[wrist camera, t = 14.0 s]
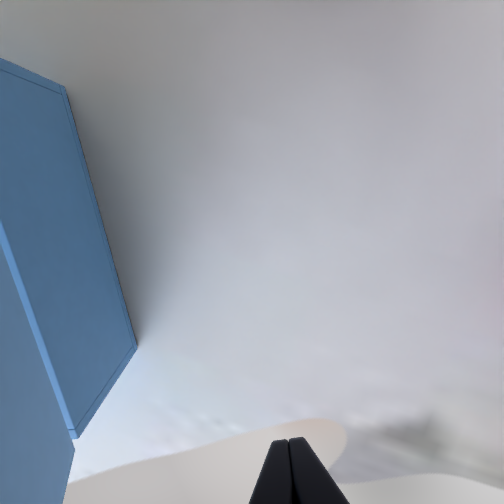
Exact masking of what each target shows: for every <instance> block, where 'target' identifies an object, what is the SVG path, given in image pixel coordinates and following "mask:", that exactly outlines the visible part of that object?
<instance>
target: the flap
mask: <svg viewBox="0 0 504 504" xmlns="http://www.w3.org/2000/svg"><path fill="white" fill-rule="evenodd" d="M74 452H75V448H74V446H73V443H72V440H71V437H70V435H69V432H68V429H67V426H66V423H65V421H64V418H63V415H62V412H61V410H60V407H59V404H58V401H57V398H56V396H55V393H54V390H53V387H52V385H51V382H50V379H49V376H48V373H47V371H46V368H45V365H44V362H43V360H42V357H41V354H40V351H39V348H38V346H37V343H36V340H35V337H34V335H33V332H32V329H31V326H30V324H29V321H28V318H27V315H26V312H25V310H24V307H23V304H22V301H21V299H20V296H19V293H18V290H17V287H16V285H15V282H14V279H13V276H12V274H11V271H10V268H9V265H8V262H7V260H6V257H5V254H4V251H3V249H2V246H1V243H0V504H62V503H63V499H64V495H65V490H66V486H67V482H68V478H69V473H70V469H71V465H72V461H73V456H74Z"/></svg>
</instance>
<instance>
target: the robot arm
mask: <svg viewBox="0 0 504 504" xmlns="http://www.w3.org/2000/svg"><path fill="white" fill-rule="evenodd" d="M249 504H350V503H349V502H348V501H347V499H346V498H345V496H344V495H343V493H342V492H341V490H340V489H339V488H338V486H337V485H336V483H335V482H334V480H333V479H332V477H331V476H330V474H329V473H328V471H327V470H326V469H325V467H324V466H323V464H322V463H321V461H320V460H319V458H318V457H317V456H316V454H315V453H314V451H313V450H312V449H311V447H310V445H309V444H308V442H307V441H306V440H305V438H303V437H298V438H291V439H289V443H288V441H287V440H286V439H284V440H276V441H273V442H272V443H271V446H270V449H269V451H268V454H267V456H266V459H265V462H264V464H263V467H262V470H261V472H260V475H259V478H258V480H257V483H256V486H255V488H254V491H253V494H252V496H251V499H250V502H249Z"/></svg>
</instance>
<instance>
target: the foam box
mask: <svg viewBox="0 0 504 504" xmlns="http://www.w3.org/2000/svg"><path fill="white" fill-rule="evenodd" d="M0 243H1V246H2V249H3V251H4V254H5V257H6V260H7V262H8V265H9V268H10V271H11V274H12V276H13V279H14V282H15V285H16V287H17V290H18V293H19V296H20V299H21V301H22V304H23V307H24V310H25V312H26V315H27V318H28V321H29V324H30V326H31V329H32V332H33V335H34V337H35V340H36V343H37V346H38V348H39V351H40V354H41V357H42V360H43V362H44V365H45V368H46V371H47V373H48V376H49V379H50V382H51V385H52V387H53V390H54V393H55V396H56V398H57V401H58V404H59V407H60V410H61V412H62V415H63V418H64V421H65V423H66V426H67V429H68V432H69V435H70V437H71V440H72V439H78V438H79V437H80V435H81V434H82V432H83V431H84V429H85V428H86V426H87V425H88V423H89V422H90V420H91V419H92V417H93V416H94V414H95V413H96V411H97V410H98V408H99V407H100V405H101V404H102V402H103V400H104V399H105V397H106V396H107V394H108V393H109V391H110V390H111V388H112V387H113V385H114V384H115V382H116V381H117V379H118V378H119V376H120V375H121V373H122V372H123V370H124V369H125V367H126V365H127V364H128V362H129V361H130V359H131V358H132V356H133V355H134V353H135V352H136V350H137V344H136V341H135V337H134V334H133V330H132V326H131V323H130V319H129V316H128V312H127V309H126V305H125V301H124V298H123V294H122V291H121V287H120V284H119V280H118V276H117V273H116V269H115V266H114V262H113V259H112V255H111V251H110V248H109V244H108V241H107V237H106V234H105V230H104V226H103V223H102V219H101V216H100V212H99V209H98V205H97V201H96V198H95V194H94V191H93V187H92V184H91V180H90V176H89V173H88V169H87V166H86V162H85V159H84V155H83V151H82V148H81V144H80V141H79V137H78V134H77V130H76V126H75V123H74V119H73V116H72V112H71V109H70V105H69V101H68V98H67V94H66V91H65V87H64V86H62V85H60V84H57V83H55V82H53V81H51V80H49V79H46V78H44V77H42V76H40V75H38V74H35V73H33V72H31V71H29V70H27V69H24V68H22V67H20V66H18V65H16V64H13V63H11V62H9V61H7V60H5V59H2V58H0Z"/></svg>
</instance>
